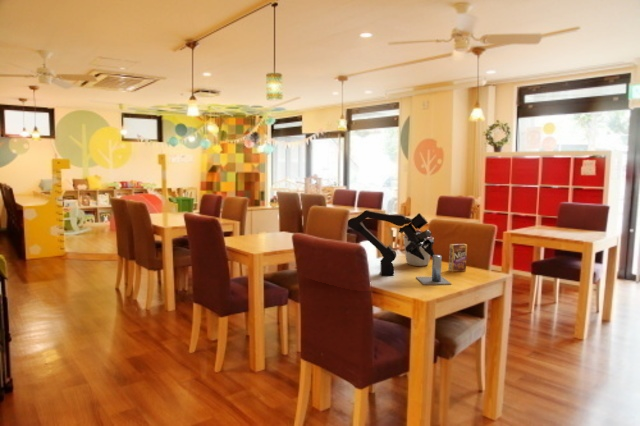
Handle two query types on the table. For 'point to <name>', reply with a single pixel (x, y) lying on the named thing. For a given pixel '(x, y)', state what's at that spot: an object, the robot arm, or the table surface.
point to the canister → (414, 259)
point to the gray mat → (429, 281)
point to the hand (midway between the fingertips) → (429, 258)
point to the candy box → (457, 257)
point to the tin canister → (436, 268)
